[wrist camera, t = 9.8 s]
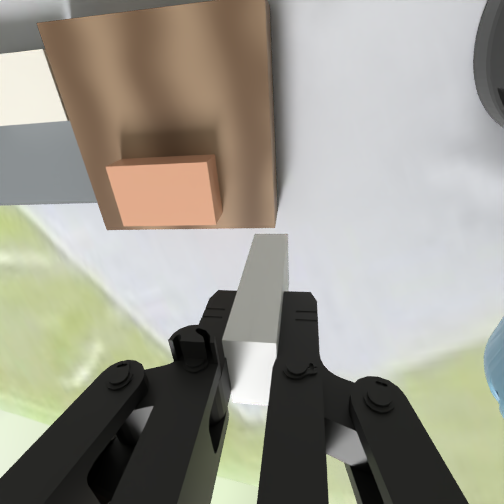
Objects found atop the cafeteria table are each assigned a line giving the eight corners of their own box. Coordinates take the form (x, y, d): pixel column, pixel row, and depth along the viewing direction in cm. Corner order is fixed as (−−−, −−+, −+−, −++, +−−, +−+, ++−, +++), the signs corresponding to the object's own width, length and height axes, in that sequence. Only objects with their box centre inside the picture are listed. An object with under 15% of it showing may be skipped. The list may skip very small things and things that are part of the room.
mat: (77, 66, 26) (73, 66, 26) (118, 200, 32) (115, 202, 32) (-61, 80, 28) (-67, 80, 28) (1, 203, 34) (-3, 205, 34)
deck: (269, 5, 23) (264, -7, 19) (277, 210, 31) (274, 227, 27) (72, 29, 25) (36, 23, 22) (126, 213, 33) (106, 229, 30)
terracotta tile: (214, 154, 25) (206, 162, 22) (222, 212, 27) (216, 225, 25) (121, 158, 26) (105, 166, 24) (137, 214, 28) (123, 226, 26)
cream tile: (64, 50, 25) (42, 49, 23) (85, 116, 28) (67, 120, 26) (-20, 60, 27) (-48, 59, 24) (7, 123, 29) (-16, 127, 27)
